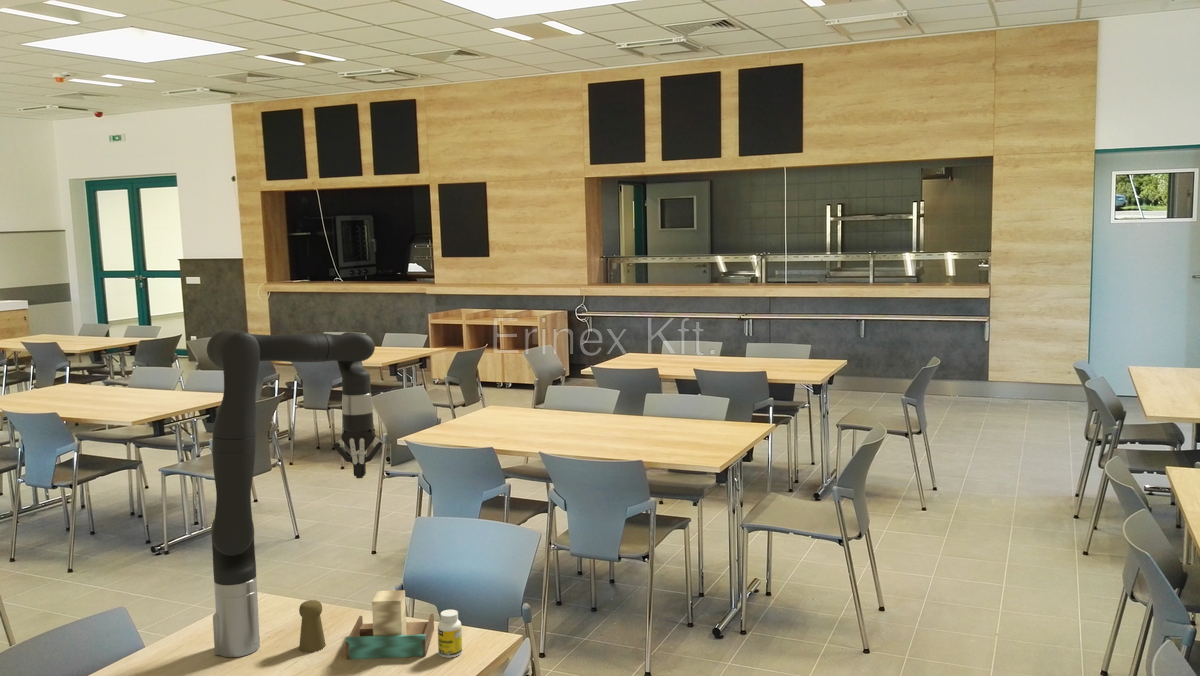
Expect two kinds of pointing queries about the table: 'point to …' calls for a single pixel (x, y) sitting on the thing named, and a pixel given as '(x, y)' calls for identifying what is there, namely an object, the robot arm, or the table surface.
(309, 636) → the olive pawn
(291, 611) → the table surface
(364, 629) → the trap lane
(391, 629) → the maple block
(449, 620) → the supplement bottle
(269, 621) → the table surface
